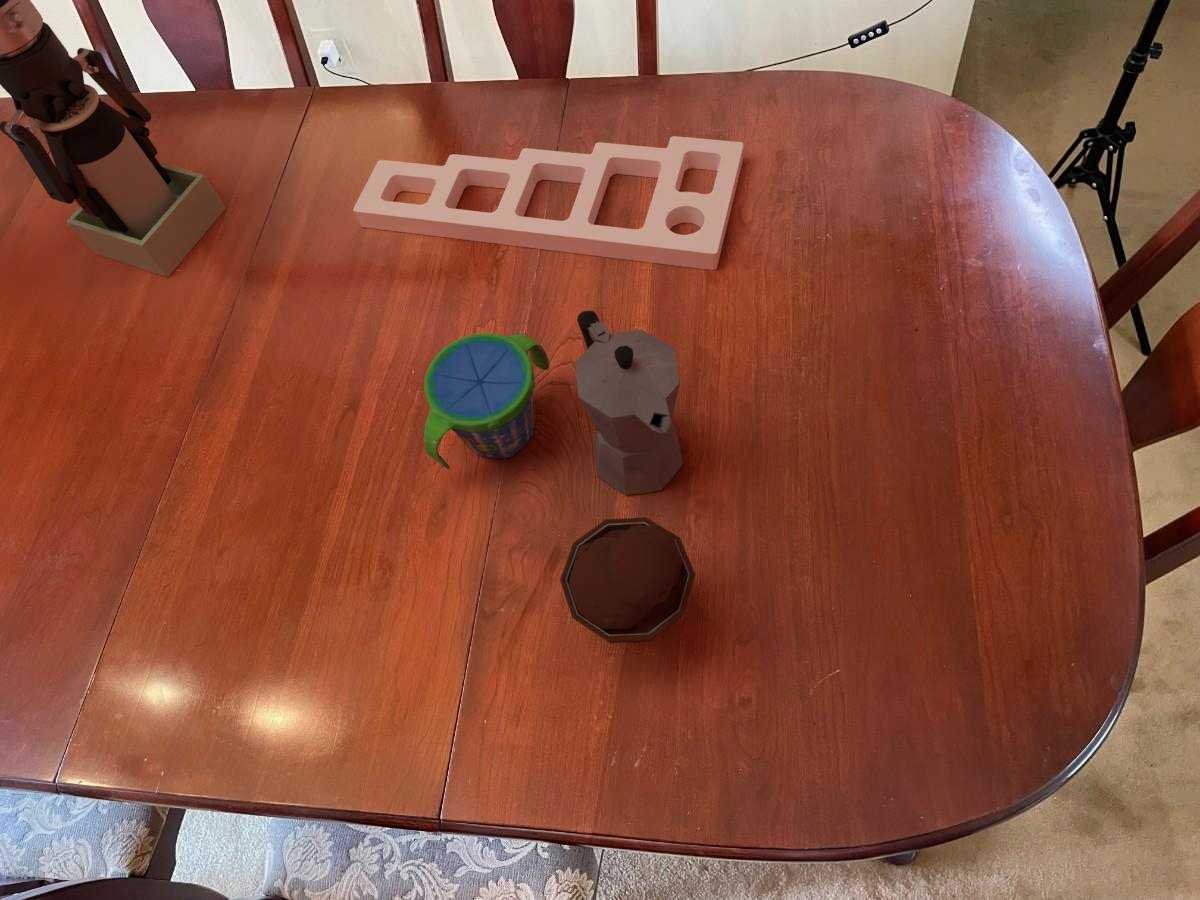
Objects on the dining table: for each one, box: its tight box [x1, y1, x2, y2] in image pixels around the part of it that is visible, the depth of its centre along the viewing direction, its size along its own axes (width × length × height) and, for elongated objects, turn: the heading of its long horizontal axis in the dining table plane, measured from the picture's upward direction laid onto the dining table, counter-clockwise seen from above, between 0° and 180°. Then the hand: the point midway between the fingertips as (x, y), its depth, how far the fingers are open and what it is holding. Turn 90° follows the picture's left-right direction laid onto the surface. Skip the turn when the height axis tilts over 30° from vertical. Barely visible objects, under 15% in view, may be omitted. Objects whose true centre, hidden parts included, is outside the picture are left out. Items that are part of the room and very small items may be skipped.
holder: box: [352, 135, 744, 271], centre depth 104 cm, size 45×18×3 cm, turn 76°
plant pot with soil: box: [559, 517, 696, 644], centre depth 71 cm, size 11×11×15 cm
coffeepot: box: [574, 310, 684, 496], centre depth 79 cm, size 15×9×18 cm, turn 28°
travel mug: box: [30, 83, 177, 240], centre depth 101 cm, size 8×8×18 cm
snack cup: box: [423, 332, 551, 470], centre depth 85 cm, size 16×10×10 cm
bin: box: [66, 161, 227, 278], centre depth 107 cm, size 12×12×6 cm
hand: (140, 203), depth 106 cm, fingers closed on travel mug, 8 cm apart
